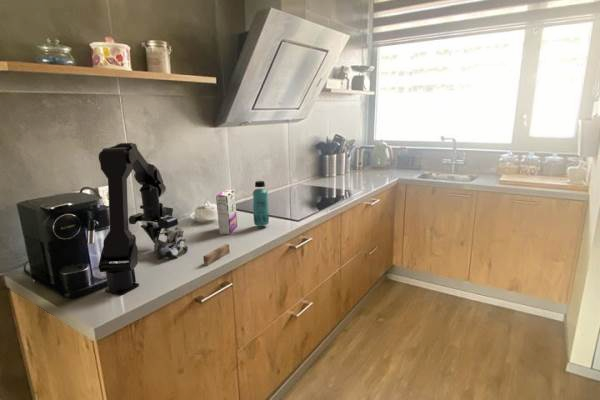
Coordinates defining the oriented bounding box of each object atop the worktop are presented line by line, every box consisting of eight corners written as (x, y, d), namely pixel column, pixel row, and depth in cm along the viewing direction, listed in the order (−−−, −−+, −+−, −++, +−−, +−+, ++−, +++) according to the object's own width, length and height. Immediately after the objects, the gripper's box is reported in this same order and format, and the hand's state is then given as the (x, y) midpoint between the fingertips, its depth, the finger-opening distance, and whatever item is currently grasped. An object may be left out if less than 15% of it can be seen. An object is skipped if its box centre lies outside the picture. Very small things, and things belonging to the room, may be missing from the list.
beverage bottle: (251, 226, 156) (249, 180, 152) (266, 223, 159) (264, 179, 155) (257, 230, 151) (254, 183, 146) (271, 227, 154) (269, 181, 149)
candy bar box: (226, 226, 157) (223, 189, 153) (237, 226, 157) (235, 189, 153) (218, 234, 146) (215, 195, 142) (230, 234, 146) (227, 195, 142)
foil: (139, 249, 123) (165, 217, 132) (157, 267, 130) (180, 235, 139) (162, 253, 117) (188, 219, 126) (180, 272, 124) (203, 238, 133)
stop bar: (207, 265, 116) (207, 256, 115) (204, 264, 117) (203, 256, 116) (229, 252, 127) (229, 244, 126) (226, 252, 127) (225, 244, 126)
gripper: (186, 198, 132) (190, 238, 136) (149, 195, 140) (154, 233, 143) (163, 205, 122) (168, 249, 126) (125, 201, 130) (130, 242, 134)
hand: (155, 242), depth 132 cm, fingers closed
